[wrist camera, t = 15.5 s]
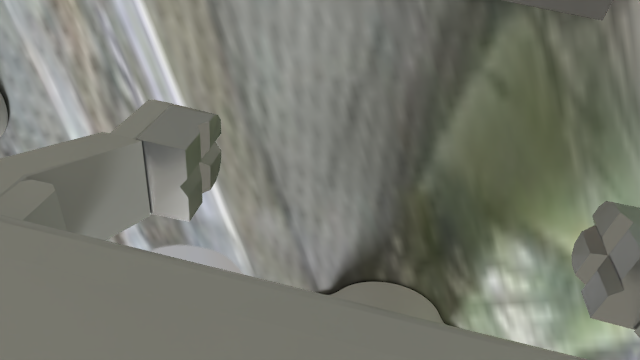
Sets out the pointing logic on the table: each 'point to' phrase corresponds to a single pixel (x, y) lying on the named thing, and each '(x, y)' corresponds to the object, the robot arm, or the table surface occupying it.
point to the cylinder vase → (3, 115)
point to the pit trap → (572, 6)
